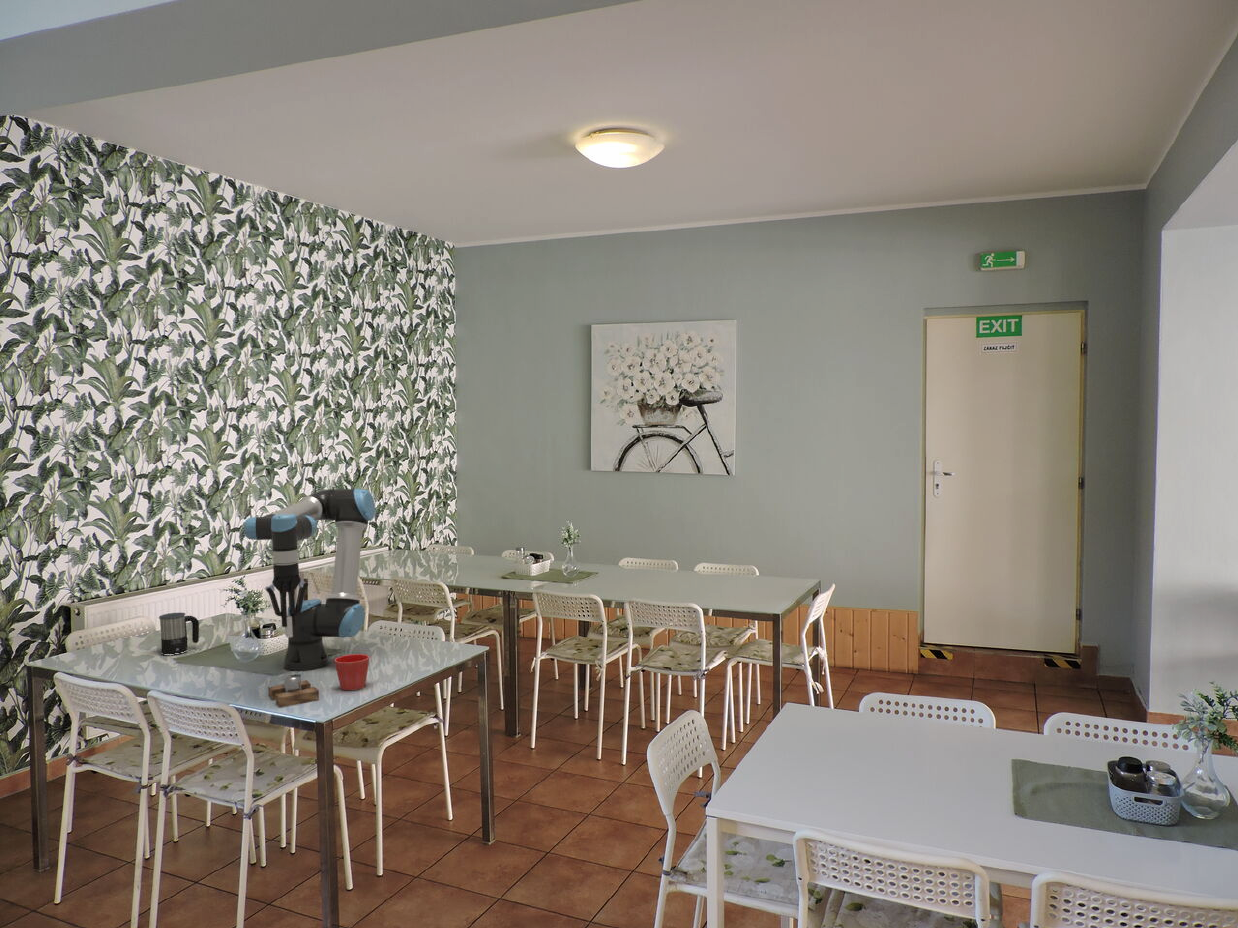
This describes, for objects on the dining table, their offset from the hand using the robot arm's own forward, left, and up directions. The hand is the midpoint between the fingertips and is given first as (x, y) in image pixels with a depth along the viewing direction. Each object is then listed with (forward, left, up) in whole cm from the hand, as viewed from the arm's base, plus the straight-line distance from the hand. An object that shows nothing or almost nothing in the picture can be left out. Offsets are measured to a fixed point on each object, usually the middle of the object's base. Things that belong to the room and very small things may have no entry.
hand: (289, 636), depth 283 cm
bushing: (0, +2, -20) cm, 20 cm away
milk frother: (+21, -89, -20) cm, 94 cm away
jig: (0, +2, -20) cm, 20 cm away
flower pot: (-19, +2, -20) cm, 28 cm away
